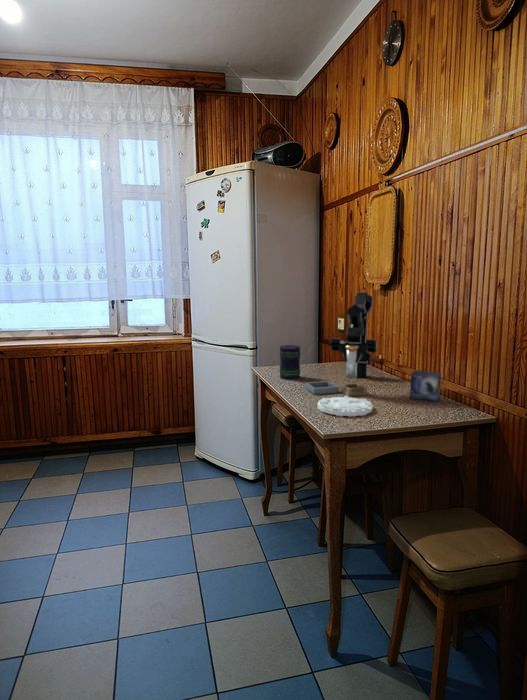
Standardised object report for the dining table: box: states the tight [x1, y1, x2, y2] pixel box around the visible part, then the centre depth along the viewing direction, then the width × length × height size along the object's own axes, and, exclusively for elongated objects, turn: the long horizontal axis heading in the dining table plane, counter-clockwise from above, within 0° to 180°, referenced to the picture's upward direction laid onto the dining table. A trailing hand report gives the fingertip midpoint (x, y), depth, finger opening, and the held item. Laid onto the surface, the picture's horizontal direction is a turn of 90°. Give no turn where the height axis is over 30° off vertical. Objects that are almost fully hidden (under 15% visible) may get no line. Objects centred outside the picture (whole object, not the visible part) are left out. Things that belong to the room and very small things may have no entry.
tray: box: [304, 380, 340, 396], centre depth 199 cm, size 11×11×2 cm
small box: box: [409, 370, 442, 403], centre depth 184 cm, size 11×6×10 cm, turn 62°
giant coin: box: [317, 395, 374, 418], centre depth 172 cm, size 20×20×3 cm
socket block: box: [340, 382, 368, 397], centre depth 194 cm, size 8×8×3 cm
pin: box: [345, 345, 359, 379], centre depth 192 cm, size 5×5×13 cm
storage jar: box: [279, 344, 301, 381], centre depth 223 cm, size 10×10×15 cm
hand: (351, 361), depth 191 cm, fingers closed on pin, 4 cm apart
